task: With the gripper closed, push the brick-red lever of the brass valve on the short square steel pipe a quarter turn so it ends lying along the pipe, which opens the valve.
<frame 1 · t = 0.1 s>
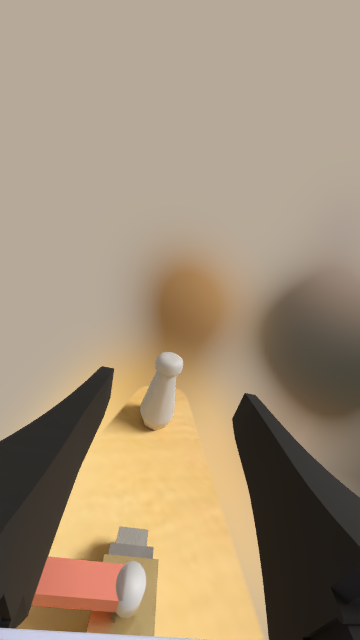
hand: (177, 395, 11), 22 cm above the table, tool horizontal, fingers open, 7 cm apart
lever: (77, 583, 14), point 7 cm above the table, hinge at 90.0°
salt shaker: (154, 421, 36), on the table
valve base: (116, 629, 16), on the table
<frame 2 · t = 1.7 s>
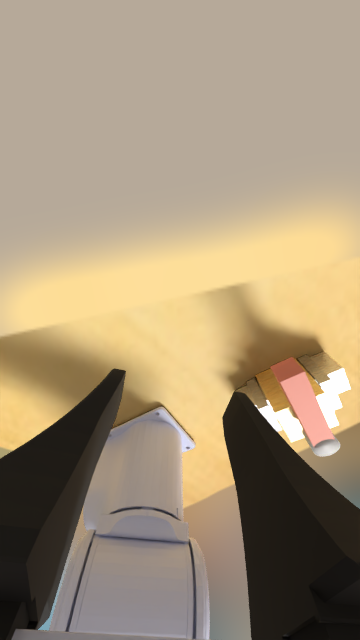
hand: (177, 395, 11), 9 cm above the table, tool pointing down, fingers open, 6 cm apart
lever: (306, 411, 15), point 7 cm above the table, hinge at 90.0°
valve base: (281, 380, 23), on the table
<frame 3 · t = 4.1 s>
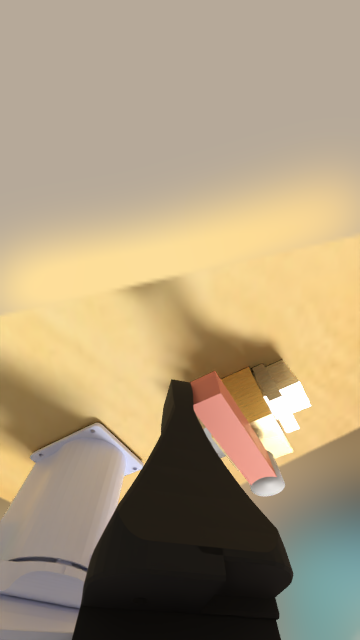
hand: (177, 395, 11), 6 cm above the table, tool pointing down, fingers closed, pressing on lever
lever: (240, 440, 12), point 7 cm above the table, hinge at 89.7°, touching gripper
valve base: (235, 393, 19), on the table
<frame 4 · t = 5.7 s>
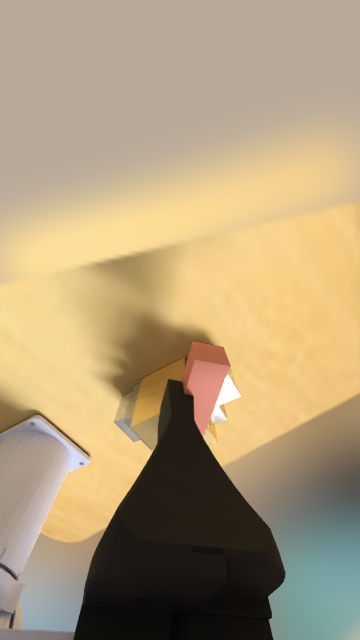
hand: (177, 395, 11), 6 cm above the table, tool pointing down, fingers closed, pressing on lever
lever: (187, 421, 11), point 7 cm above the table, hinge at 46.5°, touching gripper
valve base: (175, 385, 19), on the table
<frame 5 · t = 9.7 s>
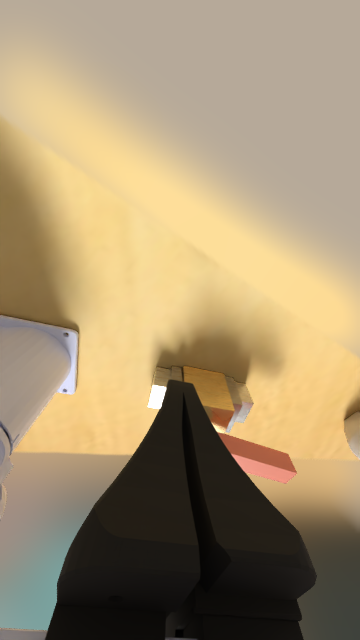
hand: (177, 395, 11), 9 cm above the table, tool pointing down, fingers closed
lever: (242, 455, 17), point 7 cm above the table, hinge at -10.6°
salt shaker: (359, 420, 26), on the table
valve base: (198, 385, 23), on the table
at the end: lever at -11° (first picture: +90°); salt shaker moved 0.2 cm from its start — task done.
